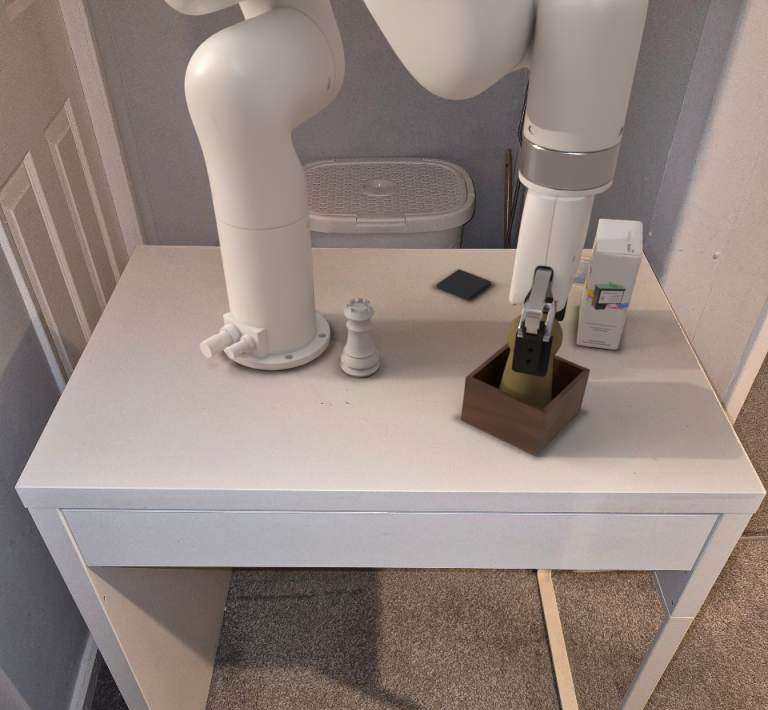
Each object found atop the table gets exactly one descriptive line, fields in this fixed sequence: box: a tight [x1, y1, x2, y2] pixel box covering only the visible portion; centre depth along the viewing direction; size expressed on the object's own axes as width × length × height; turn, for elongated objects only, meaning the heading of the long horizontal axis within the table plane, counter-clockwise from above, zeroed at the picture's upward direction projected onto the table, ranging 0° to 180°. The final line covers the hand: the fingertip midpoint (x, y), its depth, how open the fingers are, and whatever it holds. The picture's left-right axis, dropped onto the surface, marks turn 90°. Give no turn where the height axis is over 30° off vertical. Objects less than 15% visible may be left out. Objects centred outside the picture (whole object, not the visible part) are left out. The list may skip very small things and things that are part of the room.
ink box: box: [576, 218, 644, 351], centre depth 87 cm, size 8×5×12 cm, turn 167°
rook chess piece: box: [339, 296, 381, 379], centre depth 82 cm, size 4×4×8 cm
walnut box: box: [460, 342, 591, 457], centre depth 77 cm, size 9×9×5 cm
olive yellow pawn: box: [499, 313, 564, 409], centre depth 75 cm, size 6×6×11 cm
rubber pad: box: [436, 269, 492, 301], centre depth 97 cm, size 5×5×1 cm
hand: (538, 344), depth 73 cm, fingers open, 9 cm apart
